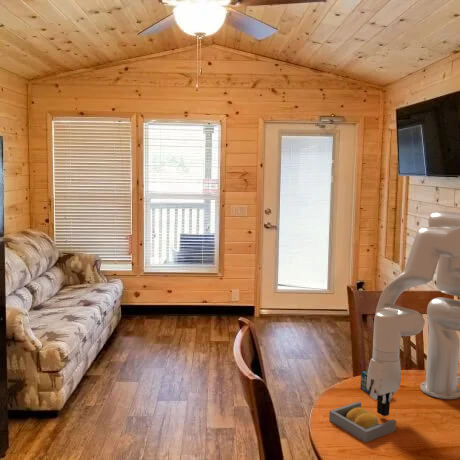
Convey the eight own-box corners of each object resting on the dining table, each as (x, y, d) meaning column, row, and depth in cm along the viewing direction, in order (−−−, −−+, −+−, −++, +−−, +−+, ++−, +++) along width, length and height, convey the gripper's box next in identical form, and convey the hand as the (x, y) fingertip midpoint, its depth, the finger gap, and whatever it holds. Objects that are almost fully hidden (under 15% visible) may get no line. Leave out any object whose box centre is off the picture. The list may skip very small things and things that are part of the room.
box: (358, 410, 155) (358, 401, 155) (395, 430, 143) (396, 420, 143) (329, 420, 149) (329, 410, 148) (365, 442, 137) (366, 432, 137)
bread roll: (363, 434, 142) (364, 421, 141) (341, 420, 149) (342, 407, 149) (384, 427, 146) (385, 414, 145) (362, 414, 153) (363, 401, 153)
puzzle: (386, 393, 168) (387, 375, 167) (371, 396, 166) (372, 378, 165) (374, 386, 173) (375, 369, 173) (360, 388, 171) (360, 371, 170)
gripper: (392, 345, 156) (389, 402, 158) (358, 355, 148) (355, 415, 150) (413, 353, 149) (410, 412, 152) (378, 363, 141) (375, 426, 144)
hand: (382, 413), depth 151 cm, fingers closed
